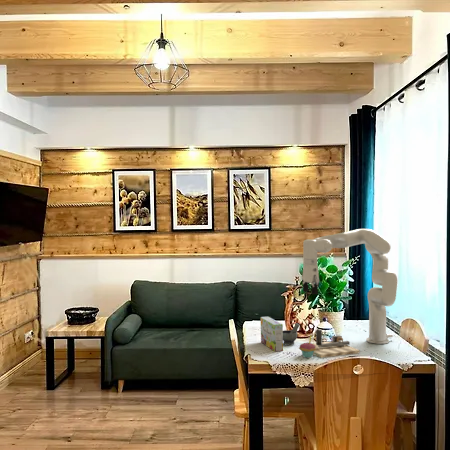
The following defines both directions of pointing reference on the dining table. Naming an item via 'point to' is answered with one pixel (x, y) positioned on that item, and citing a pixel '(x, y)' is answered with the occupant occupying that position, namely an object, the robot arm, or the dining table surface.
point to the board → (334, 350)
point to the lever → (320, 345)
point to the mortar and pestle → (290, 335)
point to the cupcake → (307, 348)
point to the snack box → (272, 333)
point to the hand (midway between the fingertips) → (310, 292)
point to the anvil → (335, 338)
